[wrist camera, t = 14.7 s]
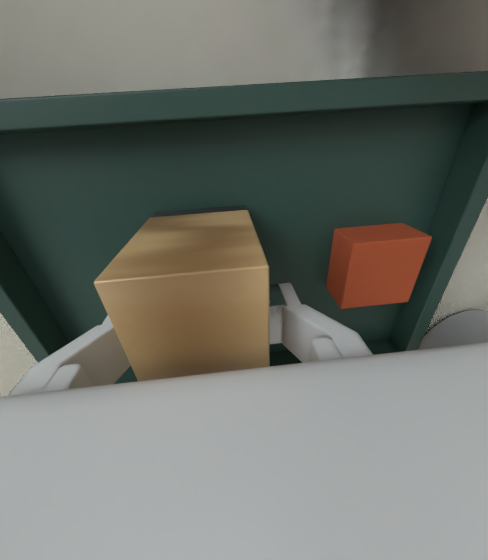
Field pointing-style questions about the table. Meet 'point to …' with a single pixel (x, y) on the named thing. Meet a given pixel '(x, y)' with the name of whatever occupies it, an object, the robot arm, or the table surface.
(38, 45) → the table surface
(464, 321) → the spray bottle
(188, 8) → the table surface
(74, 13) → the table surface
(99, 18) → the table surface
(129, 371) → the tray
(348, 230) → the orange red square block
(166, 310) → the tan brown block
